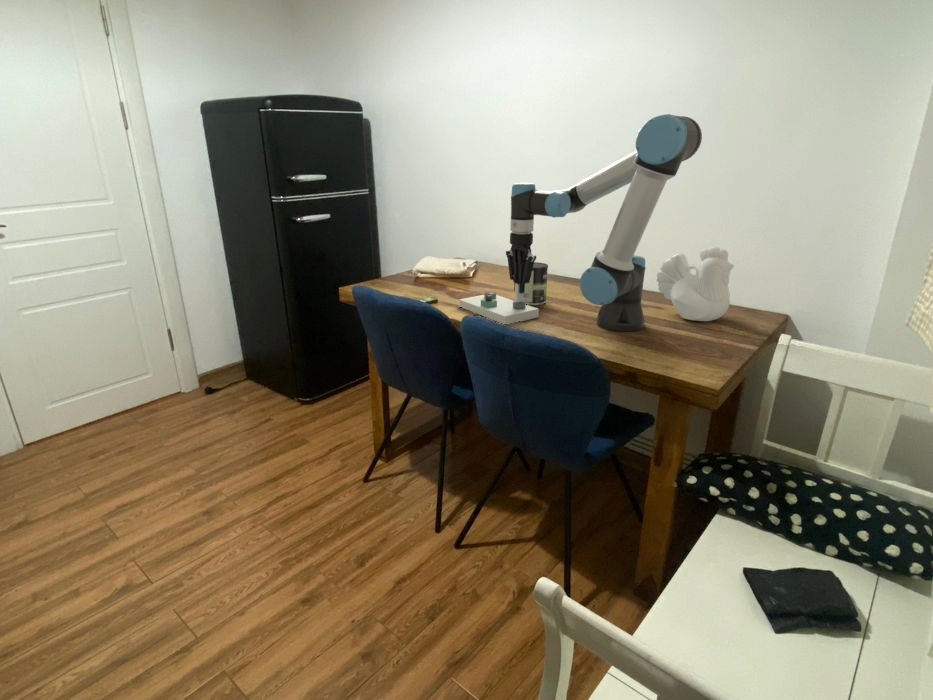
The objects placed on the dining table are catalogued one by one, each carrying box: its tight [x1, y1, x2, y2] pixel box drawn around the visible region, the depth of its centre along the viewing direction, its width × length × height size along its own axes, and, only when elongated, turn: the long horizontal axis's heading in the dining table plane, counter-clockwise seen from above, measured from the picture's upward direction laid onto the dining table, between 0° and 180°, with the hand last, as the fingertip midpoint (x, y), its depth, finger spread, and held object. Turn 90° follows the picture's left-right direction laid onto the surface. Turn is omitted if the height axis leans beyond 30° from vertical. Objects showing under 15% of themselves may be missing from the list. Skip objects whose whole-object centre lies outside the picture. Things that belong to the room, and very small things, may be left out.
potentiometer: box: [481, 295, 497, 308], centre depth 189 cm, size 4×4×4 cm
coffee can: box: [523, 261, 549, 306], centre depth 203 cm, size 10×10×14 cm
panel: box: [458, 294, 540, 325], centre depth 192 cm, size 26×15×3 cm, turn 36°
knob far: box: [483, 291, 497, 299], centre depth 200 cm, size 4×4×5 cm
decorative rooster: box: [656, 246, 735, 322], centre depth 184 cm, size 25×16×25 cm, turn 31°
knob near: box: [513, 301, 526, 309], centre depth 188 cm, size 4×4×5 cm
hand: (518, 301), depth 187 cm, fingers closed
